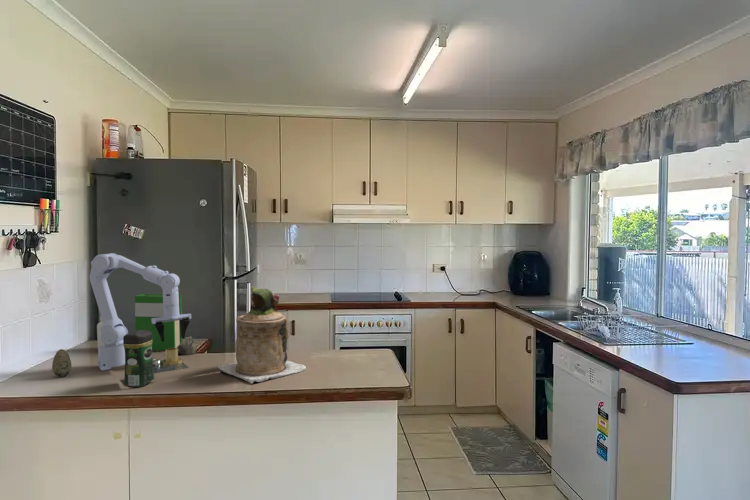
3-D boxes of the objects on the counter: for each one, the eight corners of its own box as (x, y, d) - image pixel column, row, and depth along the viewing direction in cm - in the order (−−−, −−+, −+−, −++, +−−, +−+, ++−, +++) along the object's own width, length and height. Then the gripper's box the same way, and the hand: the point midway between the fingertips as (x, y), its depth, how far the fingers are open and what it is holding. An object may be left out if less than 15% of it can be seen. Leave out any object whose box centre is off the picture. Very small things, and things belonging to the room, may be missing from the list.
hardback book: (182, 347, 232) (181, 294, 231) (174, 351, 225) (173, 296, 224) (145, 346, 234) (144, 293, 233) (136, 350, 227) (134, 296, 226)
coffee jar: (137, 379, 184) (136, 327, 183) (157, 380, 183) (156, 328, 182) (119, 387, 174) (118, 333, 173) (141, 388, 173) (139, 334, 172)
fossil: (170, 351, 221) (181, 330, 223) (190, 360, 224) (201, 339, 226) (169, 357, 211) (181, 334, 213) (190, 365, 214) (202, 343, 216)
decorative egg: (75, 374, 190) (74, 347, 189) (62, 379, 184) (61, 351, 183) (62, 373, 191) (61, 346, 191) (48, 378, 185) (47, 350, 185)
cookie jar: (253, 385, 177) (252, 293, 175) (215, 371, 193) (214, 287, 192) (308, 370, 195) (307, 286, 193) (269, 359, 212) (268, 281, 210)
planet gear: (164, 367, 196) (164, 352, 195) (160, 363, 201) (159, 348, 201) (183, 364, 200) (183, 349, 200) (178, 360, 205) (178, 346, 205)
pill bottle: (102, 347, 232) (101, 314, 231) (120, 346, 233) (119, 314, 232) (94, 351, 224) (93, 317, 223) (113, 351, 225) (112, 317, 224)
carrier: (147, 377, 187) (146, 366, 186) (137, 366, 200) (137, 356, 200) (189, 370, 195) (189, 359, 195) (177, 360, 209) (177, 350, 209)
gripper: (154, 308, 192) (156, 344, 193) (193, 303, 201) (194, 338, 202) (149, 306, 198) (151, 341, 199) (187, 302, 207) (189, 335, 207)
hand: (172, 339), depth 201 cm, fingers open, 7 cm apart
